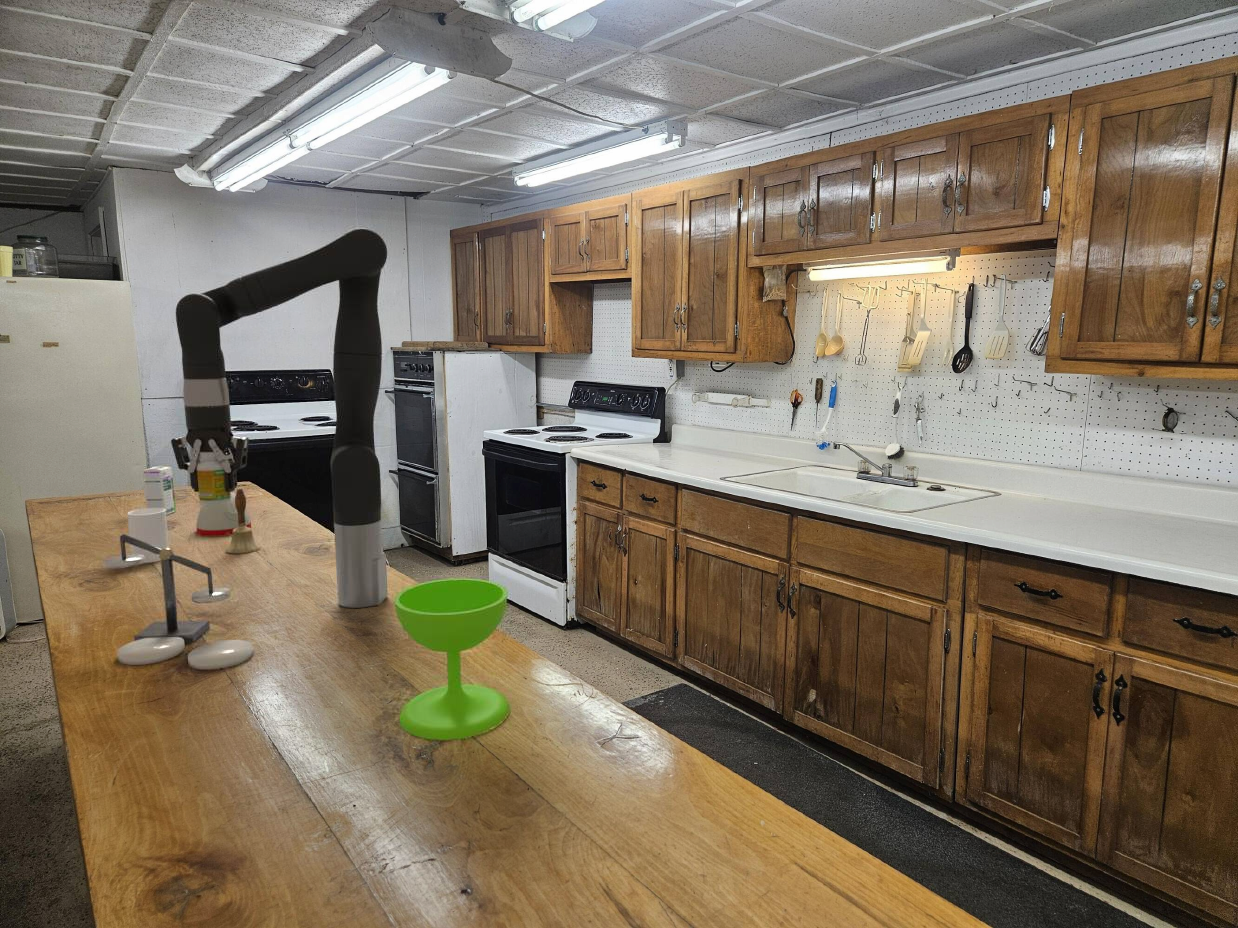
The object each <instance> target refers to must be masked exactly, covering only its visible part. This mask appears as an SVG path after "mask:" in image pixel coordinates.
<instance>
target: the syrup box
mask: <svg viewBox="0 0 1238 928" xmlns="http://www.w3.org/2000/svg"><path fill="white" fill-rule="evenodd" d="M172 471H173V470H172V467H171V466H166V465H165V466H163V465H161V466H153V467H150V468H146V469H143V470H142V478H143V485H144V486H143V487H144V495H145V503H146V504H145V505H146V508H163V509H165V510H166V516H167V515H171V514H172V513H176V511H177V506H176V498H175V489H174V481H173V472H172Z"/></svg>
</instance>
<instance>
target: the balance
mask: <svg viewBox="0 0 1238 928" xmlns="http://www.w3.org/2000/svg"><path fill="white" fill-rule="evenodd" d="M119 542H120V550H121V551H120V552H121V554H120V555H114V556H111V557H108V558H105V559H104V560H103V561H102V565H103V566H102V567H104V569H105V568H106V569H124V568H130V567H136V566H139V565H142V564H145V563H144V562H145V556H144V555H141V554H131V553H130V554H127V550H126V549H127V548H126V543H127V544H129V545H130V546H131V545H134V546H137V547H139V548H142V549H144V550H147V551H149V552H152V553H154V554H157V555H158V556H159V558H160V559H161V561H160V566H161V567H160V568H161V577H162V586H163V589H162V590H163V599H164V608H165V609H164V610H165V618H166V619H165V620H166V621H153V622H152V623H151V624H149V625H147V627H145V628H143V629H142V630H141V631H139V632H138V633H137V634H135V635H134V638H133V639H134V641H136V640H140V639H144V638H149V637H176V636H177V637H181V638H183V639H184V644H185V643H195V642H196V641H197V640H198V639H199V638H200V637H201V636H202V635H203V636H204V634H205V633H206V632H207V631H209V630H210V628H211V626H210V625H211V624H210V620H186V621H185V620H184V621H181V620H180V621H179V619H178V617H179V616H178V610H177V609H178V608H177V597H176V586H175V574H174V573H175V572H174V564H173V562H175V563H177V564H179V565H182V566H185V567H188V568H190V569H192V570H195V571H197V572H201V573H202V574H205V575H207V584H208V585H207V586H208V588H205V589H201V590H197V591H196V592H195V591H194V593H192V594H191V596H190V597H191V599H190V600H191V601H192V602H193V603H196V604H211V603H216V602H217V603H218V602H221V601H226V600H227V599H229V598H230V597H231V596H232V593H231V592H232V591H231V589H230V588H227V587H214V586H213V585H214V584H213V574H212V568H211V567H208V566H206V565H203V564H201V563H198V562H196V561H193V560H191V559H188V558H185V557H183V556H181V555H177V554H175V552H174V551H173V550H172V548H170V547H169V548H163V549H161V548H158V547H155V546H153V545H150V544H148V543H145V542H143V541H140V540H138V539H135V538H133V537H130V535H129V534H128V535H127V534H124V533H123V534H122V535H119Z"/></svg>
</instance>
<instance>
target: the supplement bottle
mask: <svg viewBox="0 0 1238 928" xmlns="http://www.w3.org/2000/svg"><path fill="white" fill-rule="evenodd" d="M200 459H201V460H202V462H201V463H199V464H198V465H197V477H198V488H199V492H198V496H199V497H198V498H199V502H200V504H203V503H204V504H216V503H224V502H227V501H229V500H231V492H226V487H225V476H224V473H226V472H225V470H224V468H223V466H222V464H221V463H220V462H219V461H218V459H217V457H216V455H215V453H214V452H200Z"/></svg>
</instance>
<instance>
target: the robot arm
mask: <svg viewBox="0 0 1238 928" xmlns="http://www.w3.org/2000/svg"><path fill="white" fill-rule="evenodd" d="M387 259H388V248H387V245H386V243H385V241H384V239H383V238H382V237H381V235H380V234H378V233H377V232H375V231H373V230H371V229H369V228H366V227H365V228H364V227H357V228H352V229H350V230H348V231H346V232H345V233H344V234H342V236H340V237H338V238H336V239H334V240H333V241H331V242H330V243H328V244H326V245H324V246H322V247H320V248H318V249H316V250H314V251H312V252H308V253H306V254H304V255H301V256H298V257H296V258H293V259H290V260H287V261H284V262H281V263H278V264H274V265H272V266H268V267H266V268H262V269H260V270H256V271H254V272H250V273H248V274H245V275H242V276H240V277H237V278H234V279H233V280H230V281H228V283H226V284H225V285H222V286H220V287H216V288H213V289H210V290H208V291H205V292H201V293H189V294H187V295H185V296H183V297H181V299H180V300H179V301H178V303H177V305H176V307H175V320H176V328H177V333H178V337H179V338H178V339H179V343H180V347H181V365H182V376H183V389H182V396H183V398H182V399H183V404H184V416H185V417H184V418H185V426H186V429H187V433H186V434H185V436H183V437H182V436H180V437H178V436H177V437H176V438H175V437H174V438H172V439H171V440H170V443H171V447H172V449H173V454H174V457H175V461H176V465H177V468H178V469H179V470H184V471H187V472H188V473H189V477H190V487H191V489H192V490H193V491H194V492H195V493H199V488H198V477H197V465H198V464H199V463H201V462H202V460H201V459H200V452H214V453H215V455H216V457H217V459H218V461H219V462H220V463H221V464H222V466H223V468H224V470H225V472H226V473H224V476H225V487H226V492H232V491H233V492H234V491H235V490H236V488H237V487H238V479H237V478H238V475H237V471H238V470H240V469H243V468H245V467H246V466H247V461H248V454H249V453H248V452H249V445H250V444H249V443H250V438H249V437H248V436H244V437H239V436H234V433H233V432H232V429H231V428H232V418H231V417H232V416H231V406H230V405H231V404H230V395H229V394H230V393H229V387H228V383H227V378H226V376H227V375H226V364H225V357H224V353H223V350H222V348H221V329H220V328H223V327H225V326H227V325H229V324H231V323H234V322H235V321H238V320H240V319H242V318H245V317H250V316H253V315H255V314H258V313H262V312H264V311H267V310H269V309H272V308H274V307H277V306H280V305H282V304H284V303H288V302H289V301H291V300H293V299H296V298H297V297H299V296H302V295H303V294H306V293H308V292H310V291H313V290H315V289H316V288H320V287H322V286H326V285H328V284H331V283H333V282H337V281H338V290H339V291H338V292H339V302H338V303H339V305H338V312H337V317H336V323H335V331H334V332H335V333H334V343H333V356H332V357H333V358H332V359H333V361H332V362H333V365H332V367H333V368H332V374H333V375H332V376H333V377H332V378H333V392H334V393H333V395H334V401H335V410H336V411H335V412H336V416H335V417H336V422H335V433H334V438H333V439H334V440H333V448H332V451H331V453H332V454H331V457H330V463H329V464H330V473H331V490H332V491H331V492H332V512H333V528H334V533H333V534H334V549H335V566H336V567H335V568H336V581H337V582H336V585H337V598H338V600H337V601H338V605H339V606H341V607H343V608H351V609H353V608H354V609H356V608H359V609H360V608H367V607H373V606H380V605H382V603H383V602H384V601H385V600H386V598H387V597H388V595H389V593H388V575H387V573H388V571H387V555H386V552H383V536H382V535H383V533H382V532H383V531H382V489H381V488H382V487H381V486H382V485H381V483H382V482H381V480H382V479H381V467H380V466H381V465H380V461H379V458H378V457H377V454H376V453H377V452H376V448H375V431H374V420H375V413H376V412H375V411H376V407H377V404H378V403H377V402H378V398H379V393H380V387H381V380H382V379H381V378H382V368H383V363H382V362H383V348H382V347H383V346H382V345H383V343H382V332H381V331H382V330H381V324H380V318H379V317H380V316H379V312H378V311H379V309H378V299H379V298H378V296H379V286H380V280H381V274H382V273H381V272H382V269H383V268H384V266H385V265H386V263H387ZM232 444H233V447H234V449H235V453H234V455H233V453H232V451H231V449H230V447H231V445H232ZM188 445H189V446H190V447H191V448H192V451H191V454H189V451H188Z"/></svg>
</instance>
